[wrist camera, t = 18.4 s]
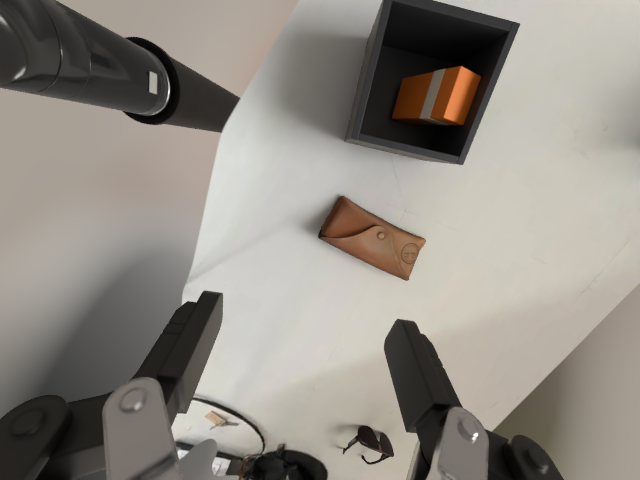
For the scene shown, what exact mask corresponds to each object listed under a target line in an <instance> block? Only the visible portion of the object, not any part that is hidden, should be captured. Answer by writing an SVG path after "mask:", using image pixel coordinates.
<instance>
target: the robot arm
mask: <svg viewBox="0 0 640 480" xmlns="http://www.w3.org/2000/svg"><path fill="white" fill-rule="evenodd" d="M0 88H4V89H9V90H15V91H20V92H25V93H31V94H36V95H41V96H47V97H52V98H58V99H64V100H69V101H75V102H79V103H85V104H90V105H95V106H101V107H106V108H111V109H117V110H122V111H127V112H132V113H136V114H139V115H144V116H154V115H158V114H160V113H161V112H163V111H164V110H165V109H166V108H167V106H168V105H169V103H170V100H171V96H172V84H171V79H170V76H169V73H168V71H167V69H166V67H165V66H164V64H163V63H162V62H161V60H160V59H159V58H158V57H157V56H156V55H154V54H153V53H152V52H150V51H148V50H147V49H145V48H143V47H140V46H138V45H136V44H134V43H132V42H131V41H129V40H127V39H125V38H123V37H122V36H120V35H118V34H116V33H114V32H112V31H111V30H109V29H107V28H105V27H103V26H102V25H100V24H98V23H96V22H94V21H92V20H91V19H89V18H87V17H85V16H83V15H81V14H80V13H78V12H76V11H74V10H72V9H70V8H69V7H67V6H65V5H63V4H61V3H59V2H58V1H56V0H0ZM222 316H223V293H218V292H211V291H203V292H202V294H201V296H200V298H199V299H198V301H197V303H196V302H189V301H187V302H186V303H185V304H184V305H182V306H181V307H180V308H178V309H177V310H176V311H175V313H174V315H173V316H172V318H171V319H170V321H169V324H167V326H166V327H165V329H164V330H163V333H162V334H161V335H160V337H159V339H158V340H157V341H156V343H155V345H154V346H153V348H152V349H151V351H150V353H149V354H148V356H147V357H146V359H145V360H144V362H143V364H142V365H141V367H140V368H139V370H138V371H137V373H136V374H135V375H134V376H133V377H132V379H130V380H129V381H128V382H126V383H124V384H122V385H121V386H120V387H118V388H117V389H116V390H114V391H112V392H110V393H108V394H104V395H101V396H96V397H92V398H87V399H82V400H78V401H74V402H69V403H66V401H65V400H64V399H63V398H62V397H60V396H57V395H45V396H40V397H37V398H33V399H31V400H28V401H26V402H24V403H22V404H20V405H19V406H17V407H16V408H14V409H12V410H11V411H10V412H8V413H7V414H6V415H5V416H3V417H2V418H1V419H0V480H79V479H80V477H81V476H84V475H87V474H91V473H94V472H97V471H100V470H103V469H106V476H107V480H184V478H183V474H182V470H181V466H180V462H179V458H178V454H177V451H176V447H175V442H174V438H173V434H172V430H171V426H172V424H173V422H174V419H175V417H176V415H177V413H184V414H186V413H187V411H188V408H189V406H190V403H191V400H192V398H193V395H194V393H195V390H196V388H197V385H198V383H199V380H200V378H201V375H202V373H203V370H204V368H205V365H206V363H207V360H208V358H209V355H210V353H211V350H212V348H213V345H214V343H215V340H216V338H217V335H218V333H219V330H220V327H221V323H222ZM384 351H385V355H386V359H387V363H388V366H389V370H390V374H391V377H392V381H393V385H394V389H395V392H396V396H397V400H398V403H399V407H400V411H401V414H402V418H403V422H404V425H405V429H406V432H410V433H417V435H418V438H419V440H418V442H417V444H416V447H415V450H414V454H413V457H412V461H411V464H410V468H409V471H408V475H407V478H406V480H564V479H563V478H562V476H561V474H560V473H559V471H558V469H557V468H556V466H555V465H554V463H553V461H552V460H551V458H550V457H549V456H548V454H547V453H546V452H545V451H544V450H543V449H542V448H541V447H540V446H539V445H538V444H537V443H536V442H534V441H533V440H531V439H530V438H528V437H525V436H523V435H516V436H514V437H513V438H511V439H510V440H508V439H506V438H503V437H501V436H499V435H497V434H495V433H493V432H491V431H488V430H486V429H484V427H483V426H482V424H481V423H480V421H479V420H478V419H477V418H476V417H475V416H474V415H473V414H472V413H470V412H469V411H467V410H466V409H464V408H463V407H462V405H461V403H460V401H459V399H458V397H457V395H456V393H455V391H454V389H453V386H452V384H451V382H450V380H449V378H448V376H447V374H446V372H445V369H444V368H443V367H442V366H443V365H442V363H441V361H440V359H439V358H438V355H437V352H436V350H435V348H434V346H433V344H432V343H431V342H430V341H429V340H428V338H427V337H426V336H425V335H424V334H421V333H420V331H419V329H418V327H417V325H416V323H415V322H414V321H408V320H401V319H397V320H396V321H395V323H394V325H393V326H392V328H391V330H390V332H389V333H388V335H387V337H386V339H385V343H384Z"/></svg>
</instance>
